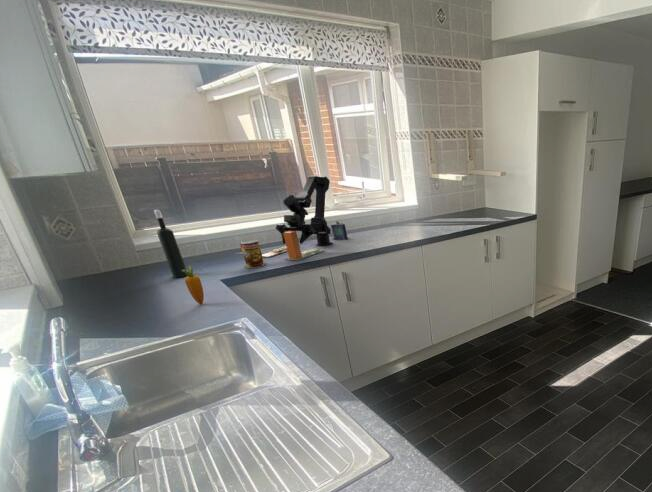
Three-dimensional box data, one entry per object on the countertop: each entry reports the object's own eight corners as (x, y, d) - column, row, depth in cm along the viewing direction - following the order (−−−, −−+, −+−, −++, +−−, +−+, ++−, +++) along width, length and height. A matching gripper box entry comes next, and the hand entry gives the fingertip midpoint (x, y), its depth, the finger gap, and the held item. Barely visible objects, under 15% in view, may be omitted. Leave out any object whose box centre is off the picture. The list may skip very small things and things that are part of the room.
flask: (332, 239, 259) (328, 221, 254) (334, 238, 262) (331, 220, 257) (346, 239, 258) (343, 221, 253) (348, 238, 261) (345, 220, 256)
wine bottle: (186, 276, 195) (162, 210, 182) (172, 278, 193) (146, 211, 180) (189, 273, 200) (166, 208, 187) (175, 275, 198) (150, 209, 185)
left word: (286, 248, 241) (285, 245, 240) (295, 248, 239) (295, 246, 238) (258, 256, 225) (257, 253, 224) (268, 257, 223) (267, 254, 222)
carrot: (197, 307, 158) (183, 269, 152) (191, 305, 161) (177, 267, 154) (211, 303, 162) (198, 265, 155) (204, 301, 164) (191, 264, 158)
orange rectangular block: (294, 255, 222) (288, 230, 216) (301, 255, 221) (296, 230, 216) (289, 258, 217) (283, 232, 212) (296, 258, 217) (290, 232, 211)
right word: (313, 250, 234) (312, 247, 233) (323, 251, 232) (322, 248, 231) (286, 259, 218) (286, 256, 218) (297, 260, 216) (296, 257, 215)
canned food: (249, 268, 204) (241, 244, 199) (245, 265, 210) (237, 241, 205) (266, 265, 209) (259, 241, 204) (262, 262, 214) (255, 238, 209)
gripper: (272, 208, 214) (265, 235, 209) (307, 208, 212) (300, 235, 207) (285, 221, 225) (278, 246, 220) (318, 220, 222) (312, 246, 217)
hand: (292, 243), depth 216 cm, fingers open, 9 cm apart
